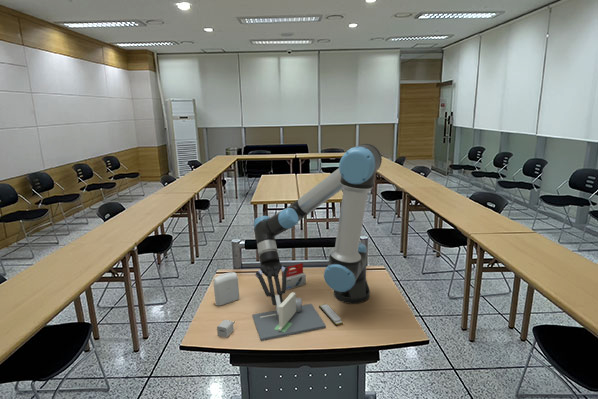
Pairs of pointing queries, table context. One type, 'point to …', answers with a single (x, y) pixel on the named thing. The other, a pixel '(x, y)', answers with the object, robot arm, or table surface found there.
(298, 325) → the gray rectangular board
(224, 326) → the usb wall charger
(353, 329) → the table surface
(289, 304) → the cream slab with knob
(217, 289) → the photo printer
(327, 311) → the harmonica
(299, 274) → the ink cartridge box
